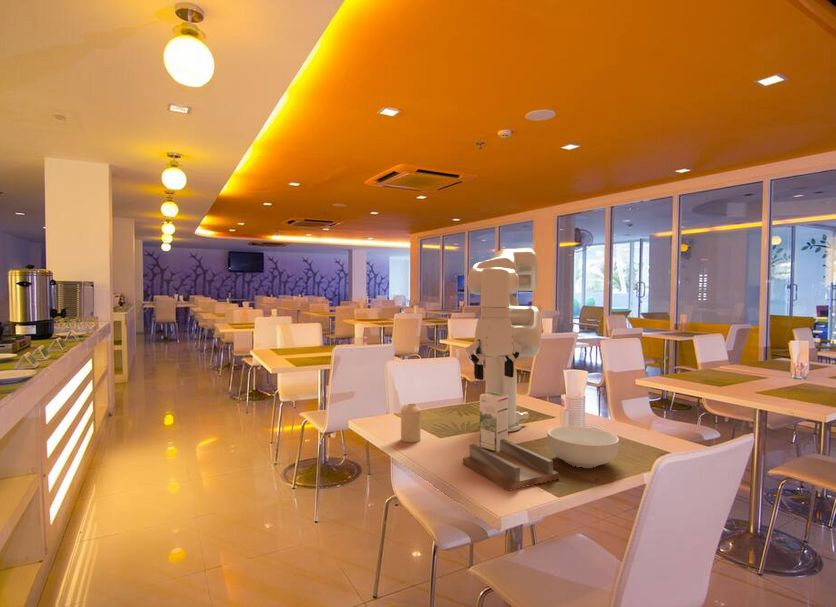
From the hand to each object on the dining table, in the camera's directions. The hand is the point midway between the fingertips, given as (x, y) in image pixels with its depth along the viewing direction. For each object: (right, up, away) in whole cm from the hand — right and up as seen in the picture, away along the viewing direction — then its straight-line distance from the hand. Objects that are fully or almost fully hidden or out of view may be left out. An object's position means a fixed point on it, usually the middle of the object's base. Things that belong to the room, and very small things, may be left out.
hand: (494, 377), depth 133 cm
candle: (-22, -19, +7) cm, 30 cm away
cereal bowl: (+20, -20, -10) cm, 30 cm away
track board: (+1, -19, -17) cm, 26 cm away
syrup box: (0, -19, +1) cm, 19 cm away
